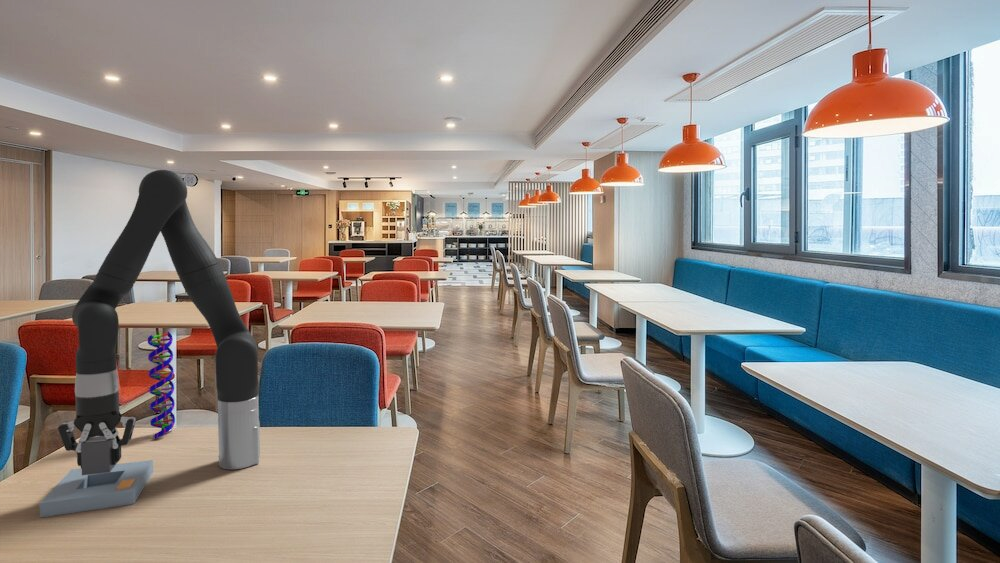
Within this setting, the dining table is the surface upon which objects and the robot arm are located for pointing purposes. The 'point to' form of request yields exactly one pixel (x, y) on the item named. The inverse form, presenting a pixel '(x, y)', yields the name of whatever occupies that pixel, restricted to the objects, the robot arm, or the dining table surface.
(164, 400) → the dna model
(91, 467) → the plug
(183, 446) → the dining table surface
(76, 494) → the socket plate
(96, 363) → the robot arm
